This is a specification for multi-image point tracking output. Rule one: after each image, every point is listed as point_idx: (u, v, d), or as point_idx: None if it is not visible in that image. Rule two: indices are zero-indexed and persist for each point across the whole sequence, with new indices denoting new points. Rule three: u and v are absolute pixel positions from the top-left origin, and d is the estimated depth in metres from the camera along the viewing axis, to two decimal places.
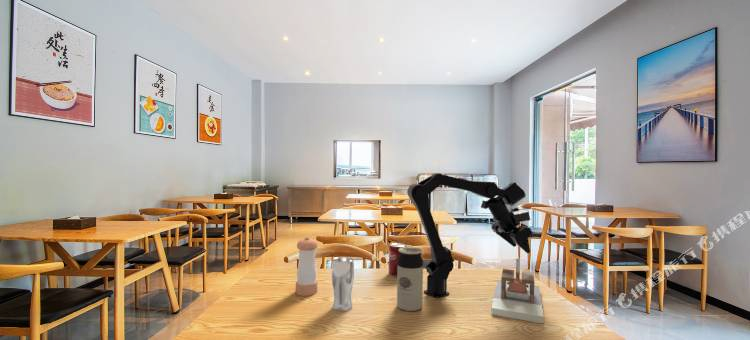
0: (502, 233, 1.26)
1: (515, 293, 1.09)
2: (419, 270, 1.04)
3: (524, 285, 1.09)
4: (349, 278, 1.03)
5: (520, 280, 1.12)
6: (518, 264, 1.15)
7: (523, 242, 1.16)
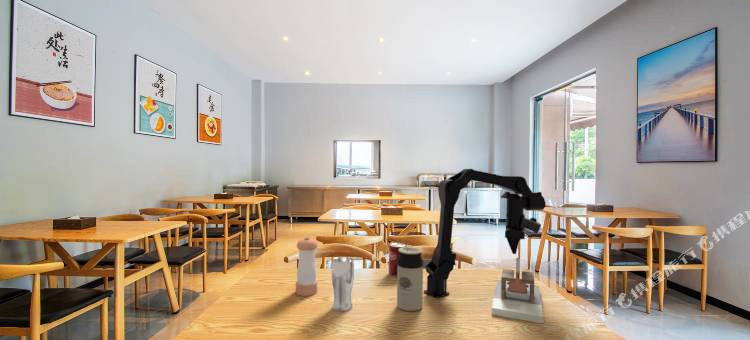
0: None
1: (515, 293, 1.09)
2: (419, 270, 1.04)
3: (524, 285, 1.09)
4: (349, 278, 1.03)
5: (520, 280, 1.12)
6: (518, 264, 1.15)
7: (513, 241, 1.22)
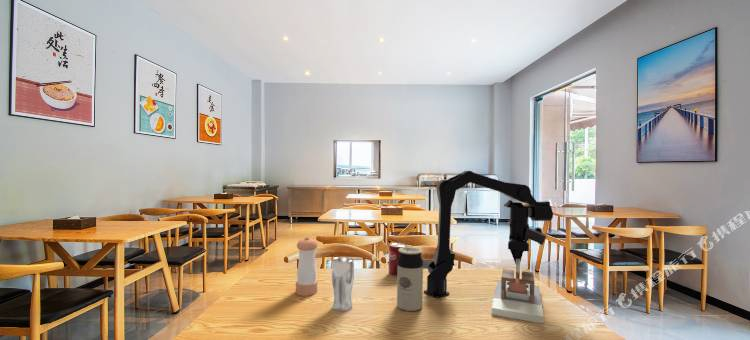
0: None
1: (515, 293, 1.09)
2: (419, 270, 1.04)
3: (524, 285, 1.09)
4: (349, 278, 1.03)
5: (520, 280, 1.12)
6: (518, 264, 1.15)
7: (517, 252, 1.16)
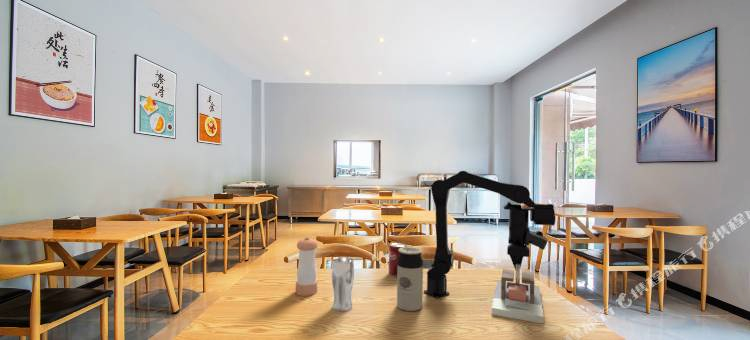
0: None
1: (515, 301, 1.02)
2: (419, 270, 1.04)
3: (524, 292, 1.02)
4: (349, 278, 1.03)
5: (520, 287, 1.06)
6: (518, 270, 1.08)
7: (517, 257, 1.10)
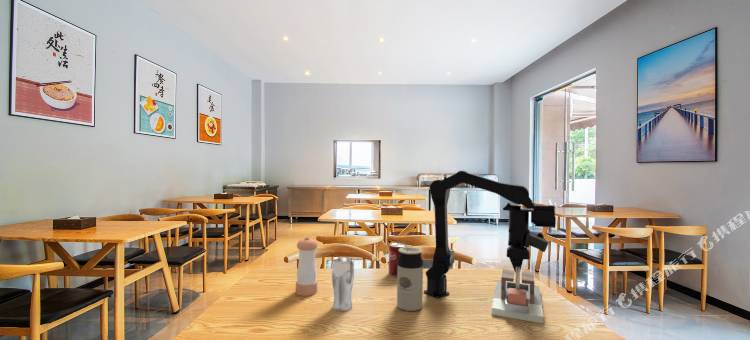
0: None
1: (514, 306, 0.99)
2: (419, 270, 1.04)
3: (524, 296, 0.99)
4: (349, 278, 1.03)
5: (520, 291, 1.03)
6: (518, 273, 1.05)
7: (516, 260, 1.07)
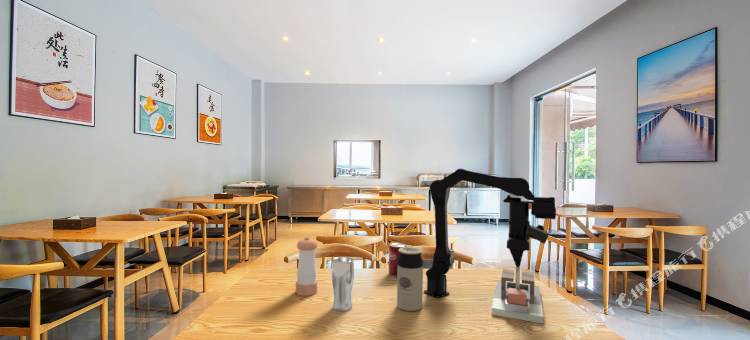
0: None
1: (514, 306, 0.99)
2: (419, 270, 1.04)
3: (524, 296, 0.99)
4: (349, 278, 1.03)
5: (520, 291, 1.03)
6: (518, 273, 1.05)
7: (517, 252, 1.07)
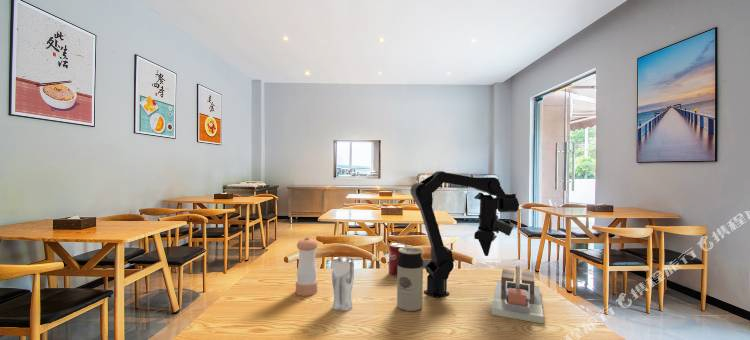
0: None
1: (514, 306, 0.99)
2: (419, 270, 1.04)
3: (524, 296, 0.99)
4: (349, 278, 1.03)
5: (520, 291, 1.03)
6: (518, 273, 1.05)
7: (485, 243, 1.20)
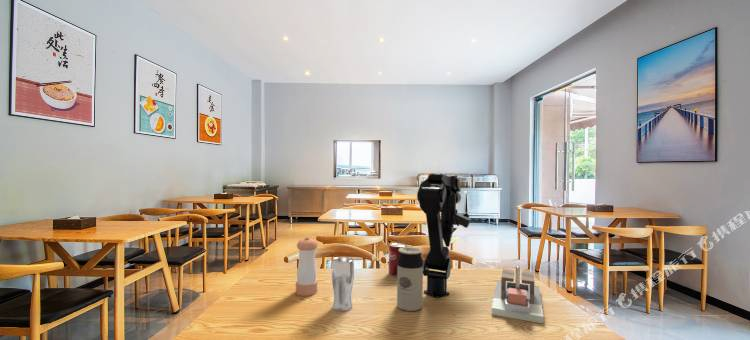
0: None
1: (514, 306, 0.99)
2: (419, 270, 1.04)
3: (524, 296, 0.99)
4: (349, 278, 1.03)
5: (520, 291, 1.03)
6: (518, 273, 1.05)
7: (446, 235, 1.32)
